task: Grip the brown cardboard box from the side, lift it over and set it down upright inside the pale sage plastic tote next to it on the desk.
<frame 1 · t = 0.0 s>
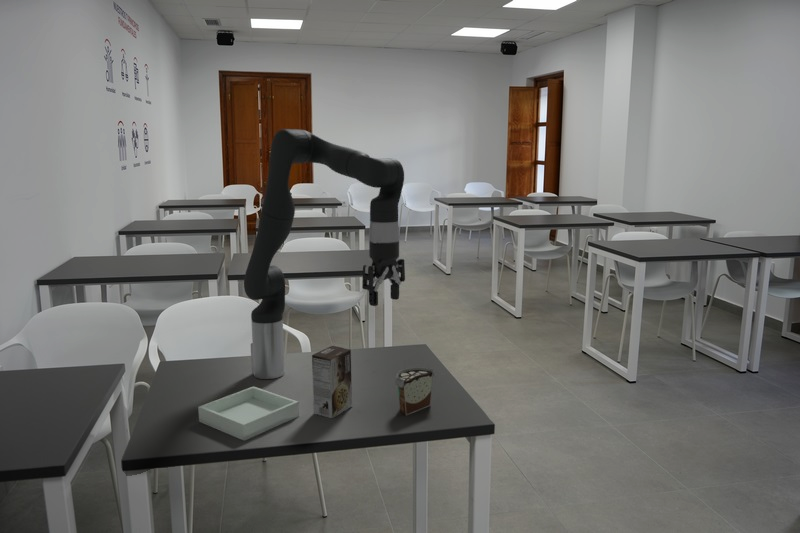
hand: (384, 302, 163), 29 cm above the table, tool pointing down, fingers open, 8 cm apart
food container: (410, 408, 171), on the table
brown cardboard box: (332, 411, 169), on the table
tote: (249, 419, 163), on the table
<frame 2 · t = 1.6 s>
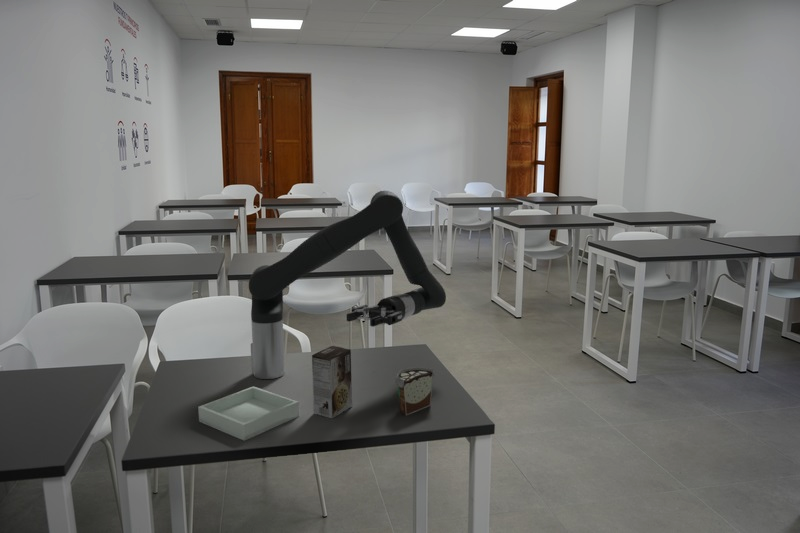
hand: (359, 320, 173), 22 cm above the table, tool horizontal, fingers open, 8 cm apart
nothing on the table moved.
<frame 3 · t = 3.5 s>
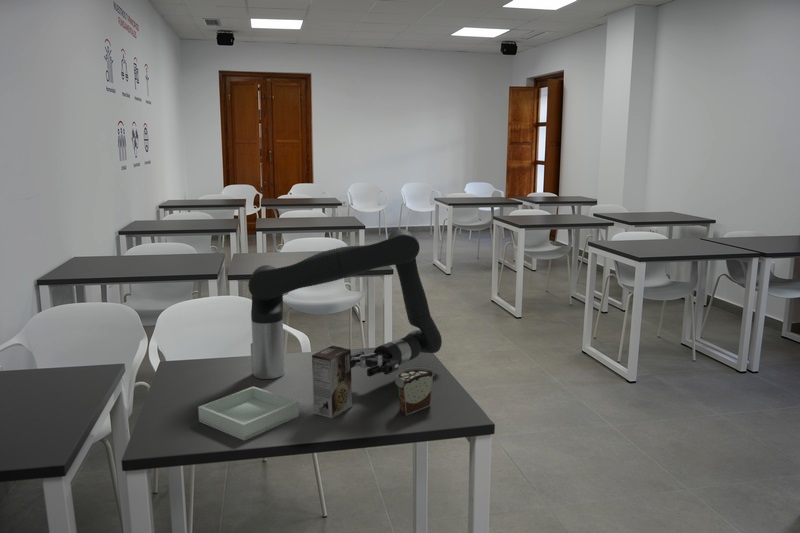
hand: (356, 369, 175), 8 cm above the table, tool horizontal, fingers open, 8 cm apart
nothing on the table moved.
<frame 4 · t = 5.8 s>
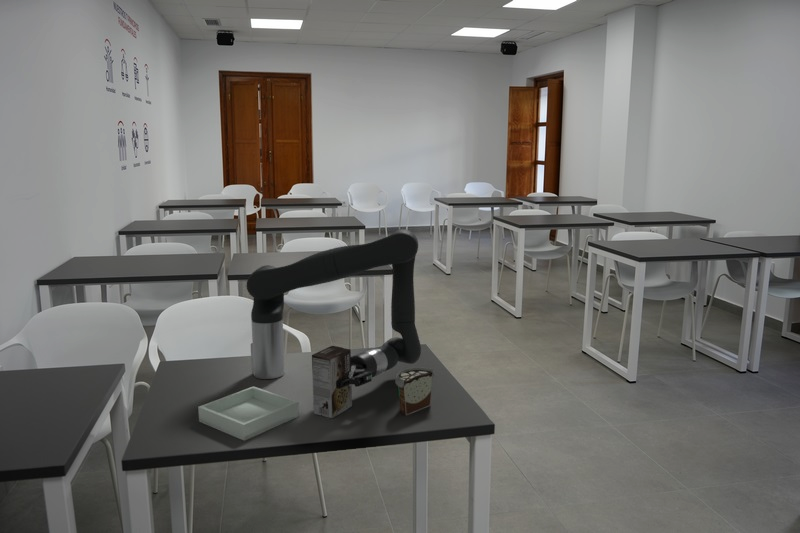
hand: (326, 381, 166), 9 cm above the table, tool horizontal, fingers closed on brown cardboard box, 7 cm apart
brown cardboard box: (332, 410, 169), on the table, touching gripper
everything else where it was.
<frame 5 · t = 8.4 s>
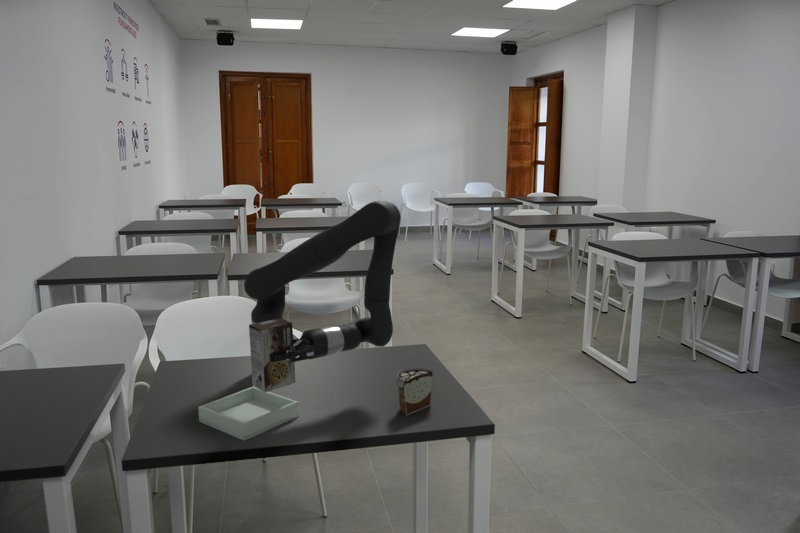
hand: (264, 354, 159), 18 cm above the table, tool horizontal, fingers closed on brown cardboard box, 7 cm apart
brown cardboard box: (273, 385, 162), point 9 cm above the table, touching gripper
everything else where it was.
when the fingers open (11 cm above the table, at t = 11.1 s): brown cardboard box drops 1 cm, resting on tote.
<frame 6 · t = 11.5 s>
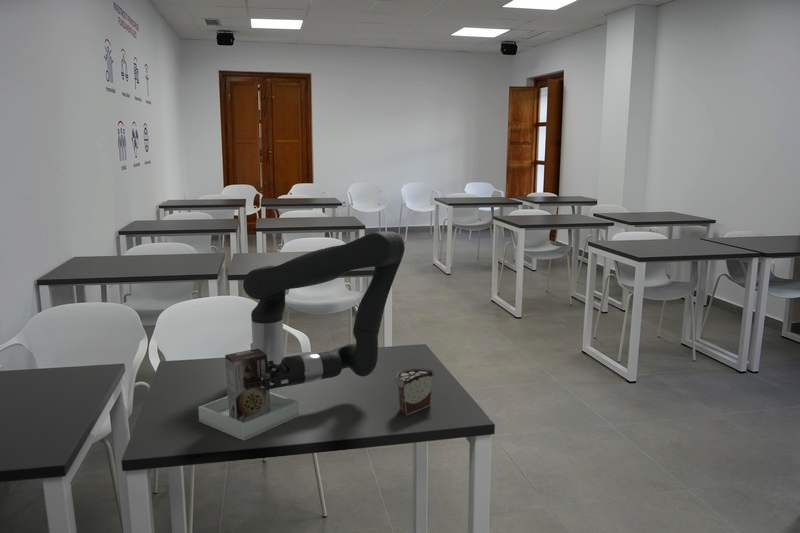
hand: (240, 379, 160), 11 cm above the table, tool horizontal, fingers open, 8 cm apart
brown cardboard box: (249, 415, 163), point 1 cm above the table, touching tote
everything else where it was.
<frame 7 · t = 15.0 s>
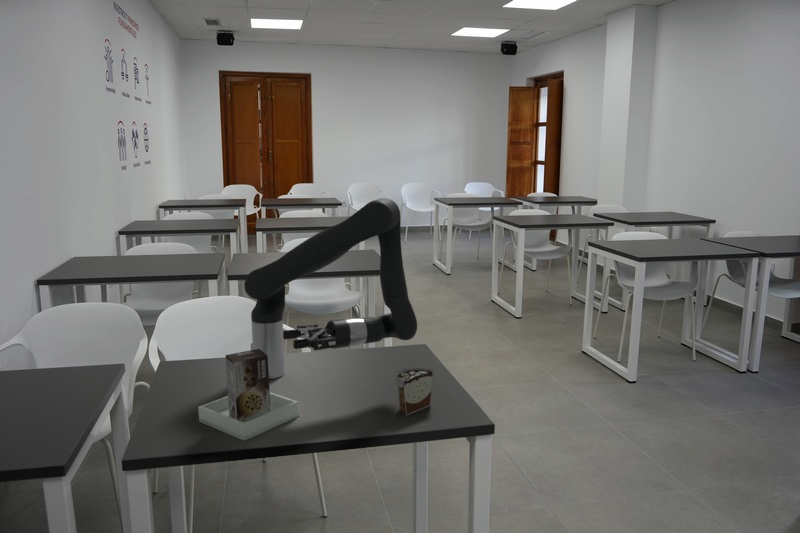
hand: (288, 339, 165), 19 cm above the table, tool horizontal, fingers open, 8 cm apart
nothing on the table moved.
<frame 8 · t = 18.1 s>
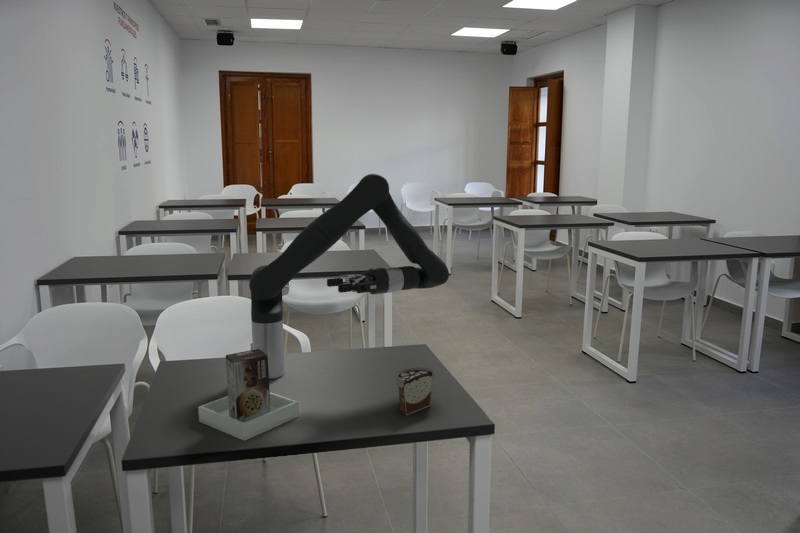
hand: (332, 285, 179), 30 cm above the table, tool horizontal, fingers open, 8 cm apart
nothing on the table moved.
at the end: brown cardboard box inside the target area on the tote (0.1 cm from its centre), point 0.8 cm above the tote's base; brown cardboard box tilted 0°; the gripper is holding nothing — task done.
